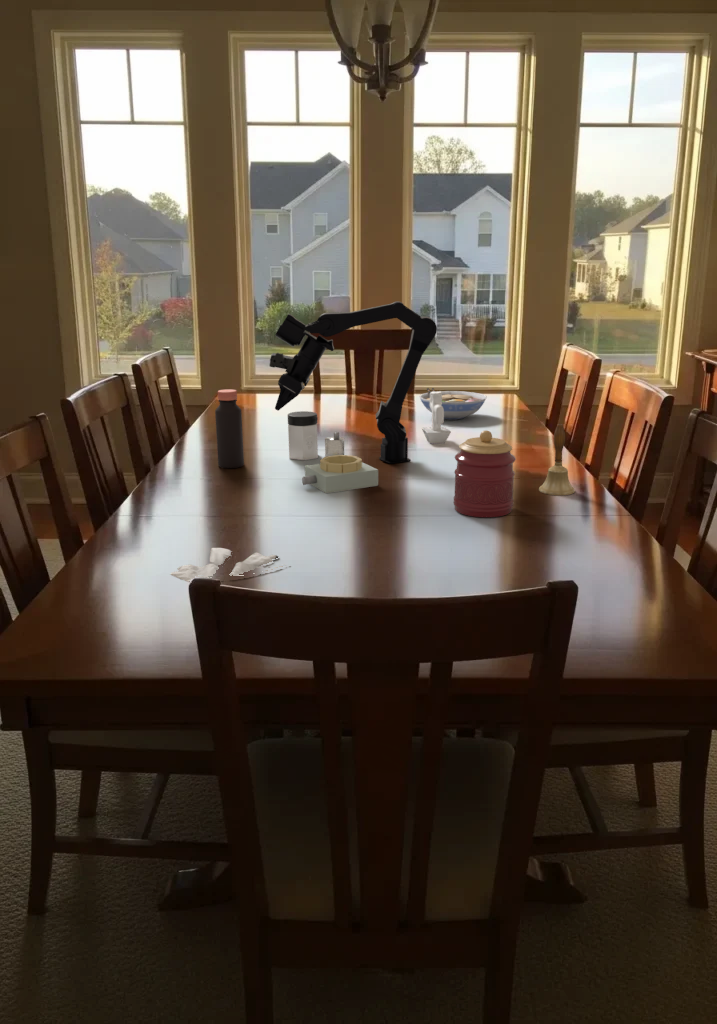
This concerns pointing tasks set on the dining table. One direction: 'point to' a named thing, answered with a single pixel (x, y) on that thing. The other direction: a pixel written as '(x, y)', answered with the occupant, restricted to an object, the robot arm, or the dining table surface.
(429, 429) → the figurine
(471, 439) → the canister
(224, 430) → the bottle
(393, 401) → the robot arm
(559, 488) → the hand bell
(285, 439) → the dining table surface
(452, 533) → the dining table surface
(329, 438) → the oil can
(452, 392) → the ramen bowl
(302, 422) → the jar
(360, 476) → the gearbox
